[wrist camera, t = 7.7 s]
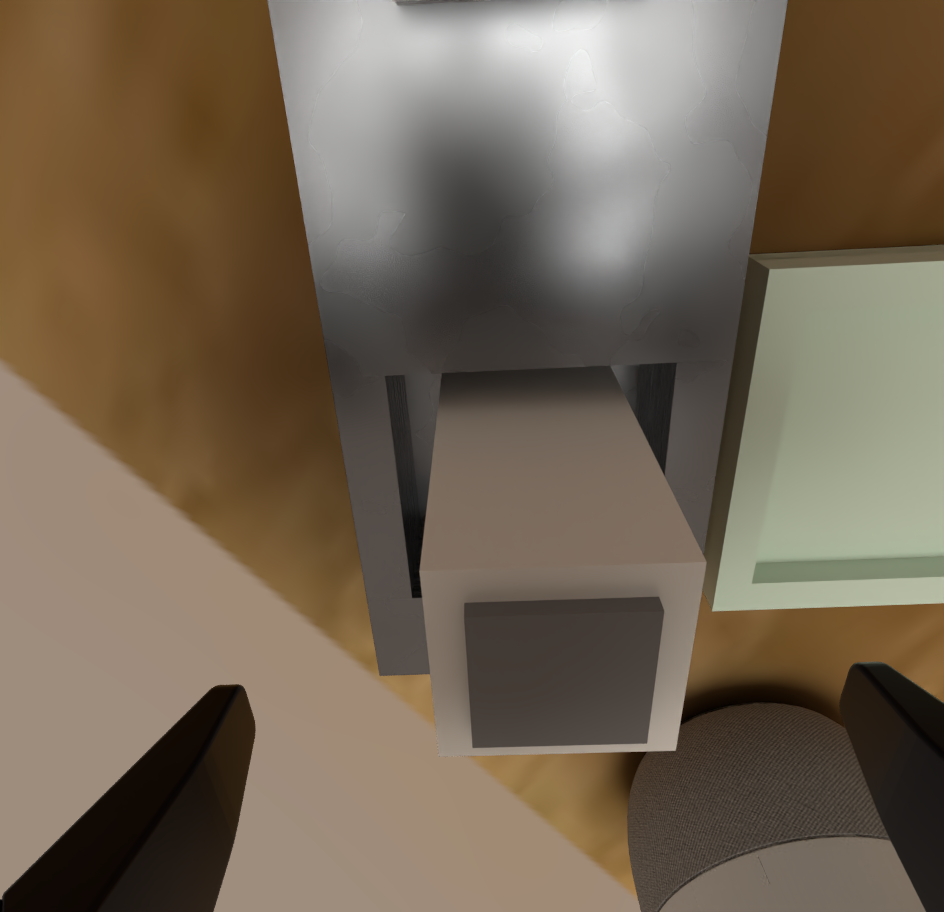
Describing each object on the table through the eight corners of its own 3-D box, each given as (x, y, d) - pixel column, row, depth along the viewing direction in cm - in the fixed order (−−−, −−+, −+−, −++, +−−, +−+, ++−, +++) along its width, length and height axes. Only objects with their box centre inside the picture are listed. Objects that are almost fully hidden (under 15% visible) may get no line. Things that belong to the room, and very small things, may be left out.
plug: (605, 357, 16) (713, 576, 9) (598, 494, 18) (681, 766, 11) (443, 363, 16) (418, 585, 9) (452, 499, 18) (437, 772, 11)
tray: (1170, 233, 16) (1234, 246, 14) (1020, 566, 20) (1058, 599, 19) (745, 254, 16) (770, 269, 15) (697, 578, 21) (712, 611, 19)
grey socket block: (268, -357, 11) (-12, -964, 5) (750, -392, 11) (1145, -1080, 4) (395, 577, 21) (360, 793, 14) (650, 567, 21) (729, 782, 14)
